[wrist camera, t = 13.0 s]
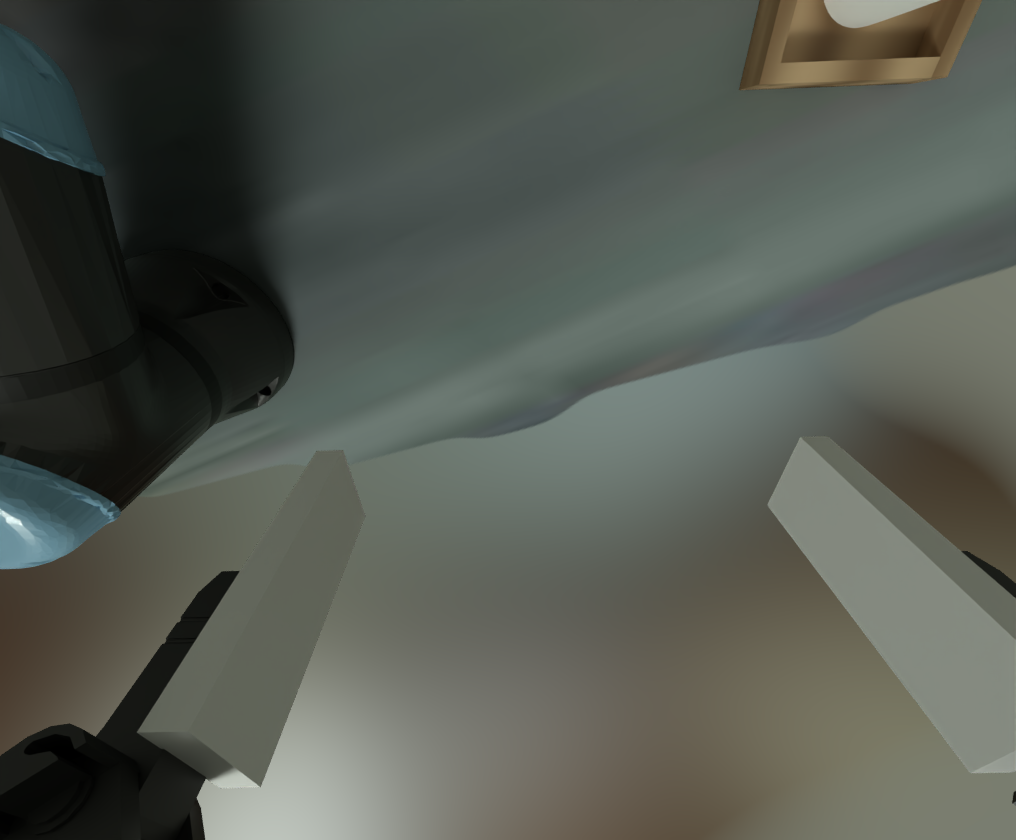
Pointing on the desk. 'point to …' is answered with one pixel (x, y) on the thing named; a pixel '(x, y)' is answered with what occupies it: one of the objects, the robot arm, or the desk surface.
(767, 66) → the caddy
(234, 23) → the desk surface
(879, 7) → the can
